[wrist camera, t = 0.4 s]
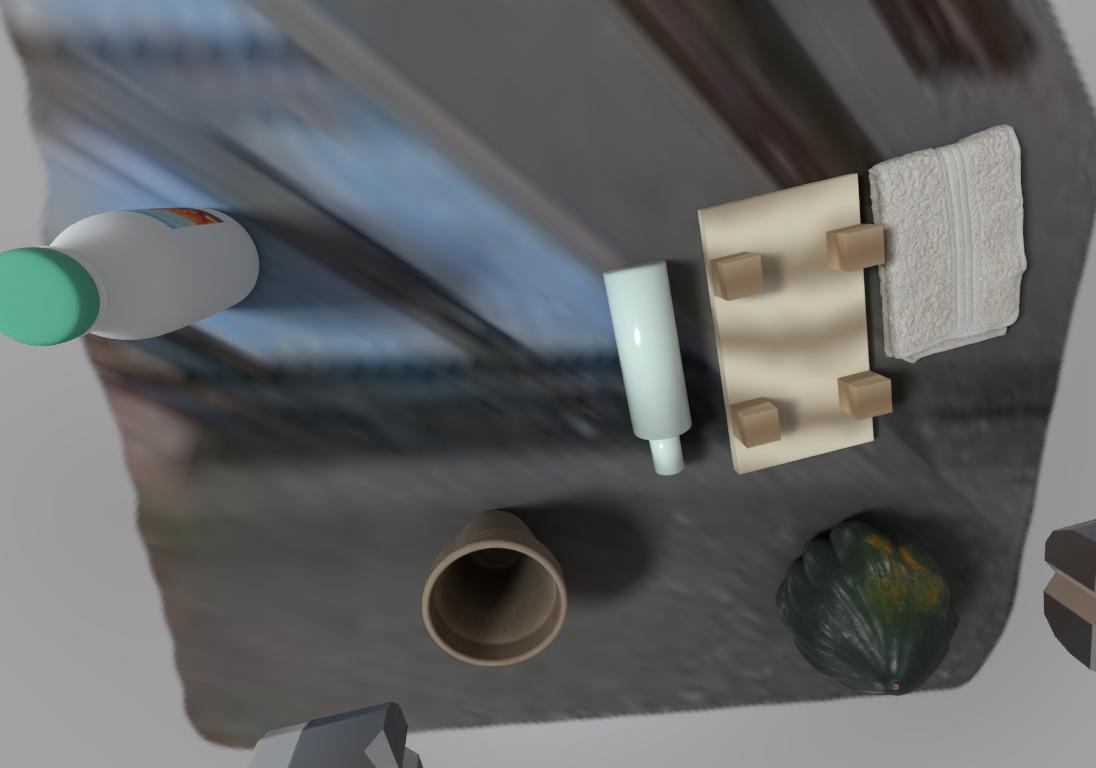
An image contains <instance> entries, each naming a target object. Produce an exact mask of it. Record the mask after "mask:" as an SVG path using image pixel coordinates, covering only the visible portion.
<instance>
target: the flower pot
mask: <svg viewBox="0 0 1096 768" xmlns="http://www.w3.org/2000/svg"><path fill="white" fill-rule="evenodd" d="M567 610H568V593H567V588H566V584H565V580H564V576H563V572H562V570H561V567H560V565H559V563H558V561H557V560H556V558H555V557H554V556H553V554H552V553H551V552H550V551H549V550H548V548H546V547H545V546H544V545H543V544H542V543H541V542H539V541H538V540H536V538H535V537H534V535H533V534H532V532H531V531H530V529H529V528H528V527H527V525H526V524H525V523H524V522H523V521H522V520H521V519H520V518H519V517H517V516H516V515H514V514H512V513H509V512H506V511H500V510H493V511H487V512H484V513H481V514H479V515H477V516H475V517H474V518H473V519H472V520H470V521H469V523H468V524H467V525H466V526H465V527H464V529H463V530H462V531H461V533H460V534H459V536H458V537H457V539H456V540H455V541H453V542H452V543H450V544H449V545H448V546H447V547H446V548H445V549H444V550H443V551H442V552H441V553H440V554H439V555H438V557H437V558H436V559H435V561H434V563H433V565H432V567H431V569H430V571H429V574H428V576H427V580H426V584H425V587H424V591H423V596H422V613H423V618H424V622H425V625H426V627H427V629H428V631H429V633H430V635H431V636H432V638H433V639H434V640H435V641H436V643H437V644H438V645H439V646H440V647H441V648H442V649H444V650H445V651H446V652H447V653H449V654H451V655H452V656H454V657H456V658H458V659H460V660H463V661H465V662H468V663H472V664H477V665H483V666H503V665H509V664H514V663H518V662H521V661H524V660H526V659H528V658H530V657H532V656H534V655H536V654H538V653H539V652H541V651H542V650H543V649H545V648H546V647H547V646H548V645H549V644H550V643H551V642H552V641H553V640H554V639H555V638H556V636H557V635H558V633H559V632H560V630H561V628H562V626H563V624H564V622H565V619H566V615H567Z"/></svg>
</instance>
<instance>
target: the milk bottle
mask: <svg viewBox="0 0 1096 768" xmlns="http://www.w3.org/2000/svg"><path fill="white" fill-rule="evenodd" d="M258 274H259V258H258V253H257V250H256V247H255V244H254V242H253V240H252V239H251V237H250V235H249V234H248V233H247V231H246V230H245V229H244V228H243V227H242V226H241V225H240V224H239V223H238V222H237V221H235V220H234V219H232V218H231V217H229V216H228V215H226V214H224V213H221V212H219V211H216V210H213V209H208V208H195V207H190V208H160V209H138V210H123V211H115V212H107V213H102V214H98V215H94V216H90V217H88V218H85V219H83V220H81V221H79V222H77V223H75V224H73V225H71V226H70V227H68V228H67V229H66V230H64V231H63V232H62V233H61V234H60V235H59V236H58V237H57V238H56V239H55V240H54V241H53V243H52V244H51V245H50V246H38V247H30V248H19V249H13V250H9V251H6V252H3V253H1V254H0V332H2V333H3V334H5V335H6V336H8V337H10V338H11V339H14V340H16V341H19V342H22V343H25V344H29V345H37V346H50V345H56V344H60V343H63V342H67V341H70V340H72V339H75V338H77V337H81V336H84V335H86V334H88V333H92V334H96V335H99V336H102V337H107V338H113V339H120V340H137V339H145V338H151V337H156V336H160V335H163V334H166V333H169V332H172V331H174V330H177V329H180V328H182V327H185V326H187V325H190V324H192V323H195V322H197V321H199V320H202V319H204V318H206V317H209V316H211V315H213V314H216V313H218V312H220V311H223V310H225V309H227V308H229V307H231V306H233V305H235V304H237V303H239V302H240V301H242V300H243V299H244V298H245V297H246V296H248V294H249V293H250V292H251V291H252V289H253V288H254V286H255V284H256V281H257V278H258Z"/></svg>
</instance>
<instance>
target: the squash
mask: <svg viewBox="0 0 1096 768" xmlns="http://www.w3.org/2000/svg"><path fill="white" fill-rule="evenodd" d="M776 601H777V606H778V610H779V614H780V616H781V618H782V620H783V622H784V624H785V626H786V627H787V629H788V630H789V632H790V633H791V635H792V636H793V639H794V642H795V644H796V646H797V648H798V649H799V651H800V653H801V654H802V655H803V657H804V658H805V659H806V660H807V661H808V662H809V663H810V664H811V665H812V666H813V667H814V668H815V669H817V670H818V671H819V672H821V673H823V674H825V675H827V676H830V677H832V678H834V679H836V680H838V681H839V682H841V683H842V684H844V685H845V686H847V687H849V688H850V689H852V690H855V691H858V692H861V693H865V694H871V695H896V696H899V695H904V694H908V693H910V692H912V691H914V690H916V689H918V688H920V687H921V686H922V685H923V684H924V683H925V681H926V680H927V679H928V678H929V677H930V676H931V675H932V674H933V673H934V672H935V670H936V669H937V668H938V667H939V665H940V664H941V663H942V661H943V660H944V658H945V656H946V654H947V652H948V650H949V646H950V640H951V639H952V637H953V636H954V634H955V632H956V629H957V626H958V623H959V610H958V608H957V605H956V602H955V599H954V597H953V594H952V592H951V591H950V589H949V587H948V584H947V582H946V580H945V577H944V575H943V572H942V570H941V567H940V565H939V563H938V561H937V559H936V558H935V556H934V555H933V553H932V552H931V551H930V550H929V549H928V548H927V547H926V546H925V545H924V544H923V543H922V542H921V541H920V540H919V539H918V538H916V537H915V536H913V535H912V534H910V533H908V532H906V531H904V530H903V529H900V528H897V527H892V526H876V527H872V526H870V525H868V524H866V523H864V522H861V521H857V520H850V521H847V522H844V523H841V524H838V525H836V526H835V527H834V528H833V529H832V531H831V532H830V534H829V537H828V539H823V538H814V539H812V540H810V541H808V542H806V544H805V545H804V548H803V557H800V558H798V559H796V560H795V561H793V562H792V563H791V564H790V566H789V568H788V570H787V578H786V579H785V580H784V581H783V583H782V584H781V586H780V588H779V590H778V593H777V596H776Z"/></svg>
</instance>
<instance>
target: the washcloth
mask: <svg viewBox="0 0 1096 768" xmlns="http://www.w3.org/2000/svg"><path fill="white" fill-rule="evenodd" d="M1020 154H1021V149H1020V145H1019V142H1018V140H1017V137H1016V135H1015V132H1014V129H1013V127H1011V126H1009V125H1006V124H1004V125H1001V126H994V127H991V128H989V129H987V130H984V131H981V132H979V133H975V134H974V135H973V134H972V135H970V136H968V137H966V138H964V139H960V140H959V142H957V143H954V144H952V145H946V146H944V147H938V148H936V149H932V148H929V149H924V150H920V151H915V152H912V153H911V154H909V153H907V154H905V155H903V156H900V157H894V158H893V159H890V160H886V161H884V162H881V163H879V164H876V165H874V166H873V167H872V168H871V169H869V170H868V171H869V174H870V175H869V179H870V184H871V190H870V192H871V196H870V198H871V199H872V203H873V204H872V211H873V217H874V224H875V225H883V232H884V253H885V263H883V264H879V265H878V268H879V272H878V273H879V277H880V279H881V283H880V286H881V292H880V294H881V296H882V302H883V309H882V312H883V325H884V343H885V346H884V350H885V353H886V356H888V357H894V358H895V359H900V358H902V359H903V360H905V361H908V362H910V363H915V362H916V361H917V360H918V359H920V358H922V357H925V356H928V355H931V354H934V353H938V352H941V351H946V350H949V349H953V348H957V347H960V346H964V345H968V344H972V343H976V342H980V341H983V340H986V339H990V338H993V337H997V336H1001V335H1005V334H1006V331H1007V327H1006V326H1009V325H1011V324H1013V323H1014V322H1015V321H1016V320H1017V318H1018V315H1019V302H1020V299H1019V296H1020V283H1021V279H1022V274H1023V272H1024V271H1025V270H1026V268H1027V261H1026V256H1025V254H1024V241H1023V210H1024V209H1023V207H1022V206H1023V196H1022V190H1021V157H1020Z"/></svg>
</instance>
